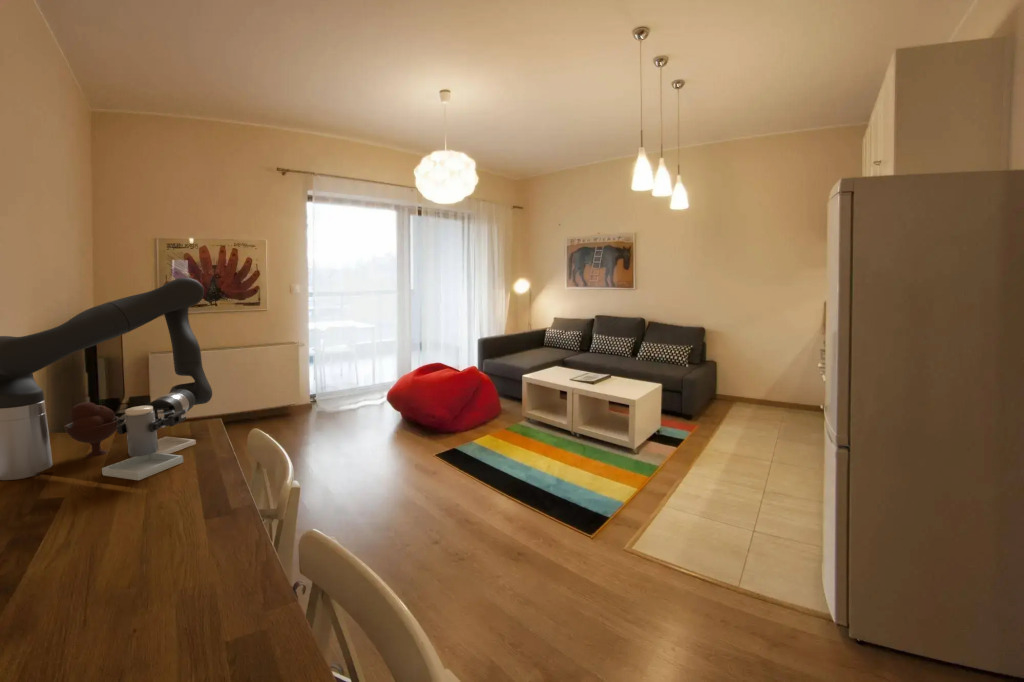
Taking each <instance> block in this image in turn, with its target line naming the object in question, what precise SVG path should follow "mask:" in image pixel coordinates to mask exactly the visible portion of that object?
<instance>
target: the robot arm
mask: <svg viewBox="0 0 1024 682" xmlns="http://www.w3.org/2000/svg"><path fill="white" fill-rule="evenodd" d="M204 295H205V290H204V286H203V285H202V284H201V283H200V282H199V280H197V279H194V278H191V277H178V278H175V279H173V280H171V281H168V282H166V283H164V284H163V285H161V286H160V287H158V288H155V289H152V290H150V291H146V292H142V293H137V294H132V295H130V296H126V297H122V298H121V297H120V298H119V299H115V300H111V301H108V302H105V303H102V304H99V305H95V306H92V307H90V308H88V309H87V308H86V309H85V310H83V311H81V312H80V313H77V314H76V315H75V316H73V317H71V318H70V319H69V320H67V321H65V322H63V323H62V324H60V325H58V326H55V327H53V328H50V329H47V330H42V331H40V332H35V333H32V334H31V333H30V334H28V335H24V336H23V335H22V336H10V335H0V481H13V480H14V481H15V480H21V479H26V478H30V477H34V476H38V475H41V473H40V472H43V471H46V470H48V469H50V468H51V467H52V466H53V457H52V456H53V455H52V448H51V439H50V433H49V425H48V417H47V410H46V403H45V401H46V400H45V393H44V390H43V389H42V388H41V386H39V384H37V382H36V379H35V378H34V373H36V372H38V371H40V370H43V369H44V368H46V367H48V366H49V365H52V364H54V363H56V362H58V361H59V360H62V359H63V358H65V357H68V356H70V355H71V354H74V353H76V352H79V351H81V350H85V349H87V348H91V347H95V346H96V345H100V344H101V343H104V342H107V341H110V340H113V339H114V338H117V337H120V336H123V335H126V334H128V333H130V332H132V331H134V330H136V329H138V328H141V327H142V326H145V325H146V324H148V323H150V322H152V321H154V320H156V319H157V318H160V317H161V316H164V319H165V322H166V326H167V328H168V329H167V330H168V334H169V337H170V343H171V348H172V358H173V365H174V366H173V368H174V373H175V375H177V376H179V377H180V376H181V377H184V376H185V377H191V378H192V379H193V380H194V382H193V381H192V382H187V383H180V384H176V385H174V386H172V387H171V389H170V390H169V392H168V393H166V394H163V395H162V396H160V397H158V398H155V399H154V400H152V401H151V402H149V403H148V404H147V405H146V406H153V410H154V412H155V420H154V421H152V422H151V423H150V424H149V429H150V432H155V431H156V430H160V429H163V428H166V427H174V426H176V425H178V424H180V423H182V422H184V421H186V420H187V414H186V413H187V412H189V411H190V410H191V409H192V408H193V407H194V406H198V405H205V404H207V403H209V402H210V401H211V400H212V397H213V388H212V386H211V385H210V382H209V380H208V378H207V377H206V374H205V370H204V368H203V361H202V354H201V348H200V344H199V341H198V339H197V338H196V336H195V334H194V332H193V330H192V328H191V324H190V319H189V309H190V308H191V307H194V306H196V305H198V304H199V303H201V301H202V300H203V297H204ZM116 432H117V434H118V435H125V434H127V432H126V424H125V413H124V414H121V416H119V418H118V419H117V431H116Z"/></svg>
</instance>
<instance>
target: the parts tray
mask: <svg viewBox="0 0 1024 682" xmlns="http://www.w3.org/2000/svg"><path fill="white" fill-rule="evenodd" d="M157 440H158V449H159V450H158V451H157V453H165V454H173V453H176V452H178V451H181V450H184V449H187V448H190V447H192V446H194V445H196V444H197V442H196V441H197V440H196V439H191V438H182V437H173V436H164V437H161V438H157ZM127 451H128V452H129V449H128V450H127Z"/></svg>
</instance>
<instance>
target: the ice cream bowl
mask: <svg viewBox="0 0 1024 682" xmlns="http://www.w3.org/2000/svg"><path fill="white" fill-rule="evenodd" d="M68 414H69V415H68V416H69V418H70V419H71V420H72V422H70V423H66V424H65V425H63V427H64V429H65V432H66V433H67V434H68V435H69V436H70V437H71V438H72V439H73V440H74V441H75V440H76V441H78V442H80V443H83V444H90V445H91V451H90V452H89V453H87V454H86V455H85V457H86V458H95V457H100V456H103V455H106V454H108V453H109V451H108V450H104V449H102V448H101V447H102V446H101V443H102V442H103V441H105V440H106V439H108V438H110V437H111V436H112V435H114V434H115V433H116V432H117V419H118V418H120V416H116V414H115V411H114V410H112V409H111V408H109V407H107V406H105V405H100V404H99V405H98V404H96V403H94V402H92V401H91V402H86V401H83V402H80V403H78V404H75V405H74V406H73V407H72V408H71V409H70V410H69V413H68Z"/></svg>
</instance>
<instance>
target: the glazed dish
mask: <svg viewBox="0 0 1024 682" xmlns="http://www.w3.org/2000/svg"><path fill="white" fill-rule="evenodd" d="M183 463H184V455H181V454H180V455H178V454H173V453H171V454H165V453H157V452H155V453H152V454H149V455H145V456H138V457H133V456H131V457H130V458H127V459H124V460H121V461H119V462H116V463H112V464H110V465H107V466H104V467H102V468H101V473H102V476H105V477H113V478H119V479H126V480H134V481H141V480H143V479H146V478H149V477H151V476H153V475H156V474H158V473H161V472H163V471H166V470H167V469H171V468H173V467H175V466H177V465H180V464H183Z"/></svg>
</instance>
